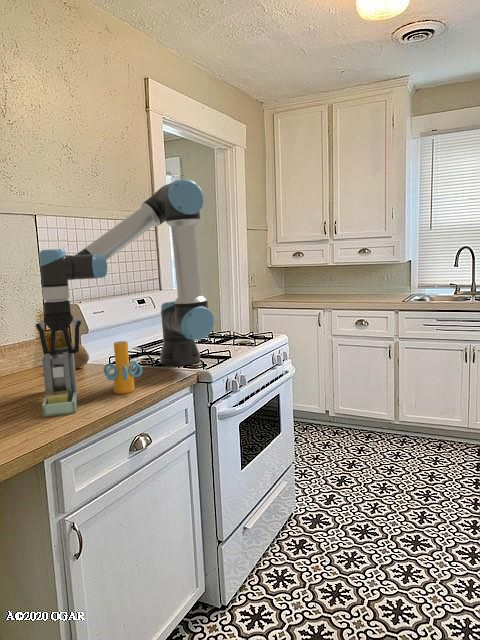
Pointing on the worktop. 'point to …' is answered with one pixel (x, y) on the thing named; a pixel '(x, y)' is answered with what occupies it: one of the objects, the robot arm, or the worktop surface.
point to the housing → (60, 382)
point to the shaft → (59, 368)
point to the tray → (59, 407)
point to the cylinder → (122, 369)
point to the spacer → (58, 397)
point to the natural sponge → (80, 356)
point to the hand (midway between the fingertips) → (64, 375)
